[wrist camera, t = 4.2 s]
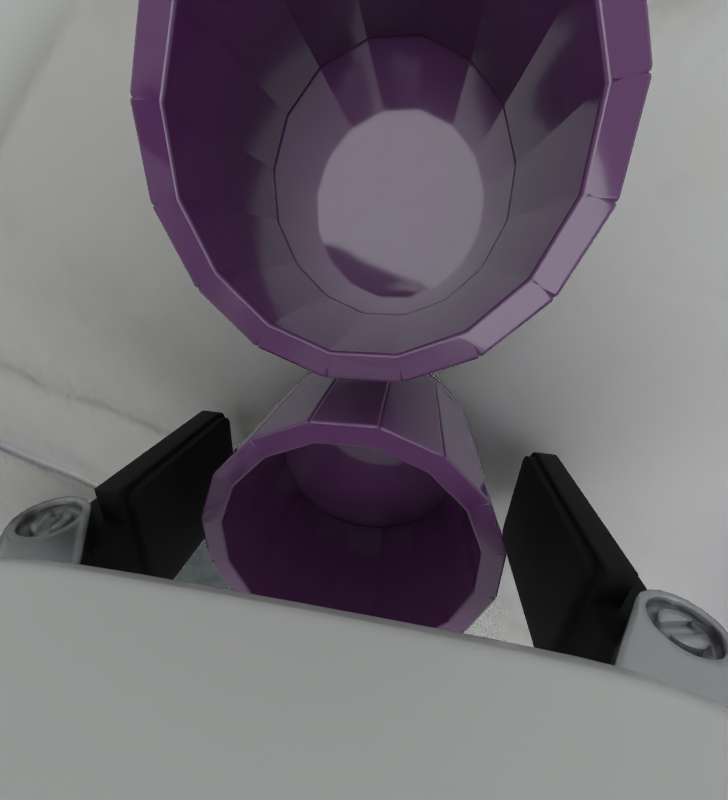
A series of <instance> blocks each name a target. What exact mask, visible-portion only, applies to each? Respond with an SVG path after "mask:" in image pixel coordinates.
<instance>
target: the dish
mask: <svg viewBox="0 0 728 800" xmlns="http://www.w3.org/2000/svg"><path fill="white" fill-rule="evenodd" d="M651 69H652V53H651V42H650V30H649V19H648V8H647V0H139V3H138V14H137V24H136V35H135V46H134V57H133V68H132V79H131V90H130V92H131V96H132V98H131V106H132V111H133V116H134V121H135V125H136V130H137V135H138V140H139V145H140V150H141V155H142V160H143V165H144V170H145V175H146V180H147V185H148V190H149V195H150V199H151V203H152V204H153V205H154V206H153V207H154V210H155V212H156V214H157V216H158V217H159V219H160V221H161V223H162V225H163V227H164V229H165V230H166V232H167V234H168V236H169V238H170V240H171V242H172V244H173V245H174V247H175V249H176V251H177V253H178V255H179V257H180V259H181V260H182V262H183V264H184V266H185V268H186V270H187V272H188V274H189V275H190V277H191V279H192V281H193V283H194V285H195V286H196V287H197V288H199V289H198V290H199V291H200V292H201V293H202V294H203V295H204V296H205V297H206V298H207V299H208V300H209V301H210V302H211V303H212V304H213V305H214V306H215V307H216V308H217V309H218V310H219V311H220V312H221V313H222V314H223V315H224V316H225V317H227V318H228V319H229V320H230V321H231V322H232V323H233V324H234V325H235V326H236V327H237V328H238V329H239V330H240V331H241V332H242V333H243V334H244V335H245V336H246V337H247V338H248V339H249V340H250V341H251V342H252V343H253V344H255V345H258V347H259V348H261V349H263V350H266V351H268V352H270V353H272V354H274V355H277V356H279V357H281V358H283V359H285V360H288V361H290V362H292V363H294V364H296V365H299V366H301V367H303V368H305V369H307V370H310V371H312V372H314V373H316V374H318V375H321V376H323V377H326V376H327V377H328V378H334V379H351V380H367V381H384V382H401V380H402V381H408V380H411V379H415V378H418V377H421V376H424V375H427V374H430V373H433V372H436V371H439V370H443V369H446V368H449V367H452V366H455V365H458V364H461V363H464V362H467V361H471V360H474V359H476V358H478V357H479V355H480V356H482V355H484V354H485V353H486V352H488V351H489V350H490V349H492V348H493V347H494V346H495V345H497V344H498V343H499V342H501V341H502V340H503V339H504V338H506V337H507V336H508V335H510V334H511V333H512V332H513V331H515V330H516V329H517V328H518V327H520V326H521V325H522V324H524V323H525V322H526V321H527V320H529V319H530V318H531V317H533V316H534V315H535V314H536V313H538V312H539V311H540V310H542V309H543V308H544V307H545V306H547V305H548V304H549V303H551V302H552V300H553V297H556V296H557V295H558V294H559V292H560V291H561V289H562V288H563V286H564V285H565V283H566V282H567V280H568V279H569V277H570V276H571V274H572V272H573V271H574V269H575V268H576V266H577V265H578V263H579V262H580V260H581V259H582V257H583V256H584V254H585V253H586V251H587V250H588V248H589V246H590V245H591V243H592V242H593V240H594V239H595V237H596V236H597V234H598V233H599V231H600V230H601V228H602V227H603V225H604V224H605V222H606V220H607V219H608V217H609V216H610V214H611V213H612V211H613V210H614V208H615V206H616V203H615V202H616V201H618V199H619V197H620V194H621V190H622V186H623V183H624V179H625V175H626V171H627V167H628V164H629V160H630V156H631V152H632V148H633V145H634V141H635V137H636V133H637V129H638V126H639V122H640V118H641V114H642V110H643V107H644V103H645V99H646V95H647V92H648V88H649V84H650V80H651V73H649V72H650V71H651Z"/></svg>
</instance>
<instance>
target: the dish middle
mask: <svg viewBox="0 0 728 800" xmlns="http://www.w3.org/2000/svg"><path fill="white" fill-rule="evenodd" d="M201 517H202V518H201V521H202V525H203V530H204V534H205V539H206V543H207V548H208V552H209V557H210V559H211V562H212V564H213V565H214V566H215V568H216V569H217V571H218V572H219V574H220V575H221V576H222V578H223V579H224V581H225V582H226V584H227V585H228V586H229V588H230V589H231V590H233V591H238V592H244V593H250V594H255V595H260V596H266V597H271V598H277V599H282V600H288V601H293V602H299V603H304V604H310V605H315V606H320V607H326V608H331V609H336V610H342V611H347V612H353V613H358V614H363V615H369V616H374V617H380V618H385V619H390V620H395V621H401V622H406V623H411V624H416V625H422V626H427V627H432V628H437V629H443V630H448V631H453V632H458V633H464V631H466V630H467V629H468V628H469V627H470V626H471V625H472V624H473V623H474V622H475V621H476V620H477V619H478V617H479V616H480V615H481V614H482V613H483V612H484V611H485V610H486V609H487V608H488V607H489V606H490V605H491V604H492V602H493V601H494V600H495V598H496V597H497V593H498V588H499V584H500V580H501V576H502V571H503V567H504V563H505V559H506V547H505V543H504V540H503V537H502V533H501V530H500V527H499V523H498V520H497V517H496V513H495V510H494V507H493V503H492V500H491V497H490V493H489V490H488V487H487V483H486V480H485V477H484V473H483V470H482V467H481V463H480V460H479V457H478V453H477V450H476V447H475V444H474V441H473V438H472V434H471V431H470V428H469V425H468V422H467V419H466V416H465V414H464V412H463V411H462V409H461V407H460V406H459V404H458V402H457V401H456V400H455V398H454V397H453V396H452V395H451V393H450V392H449V391H448V390H447V389H446V388H445V387H444V386H443V385H442V384H440V383H439V382H438V381H437V380H435V379H434V378H433V377H431V376H430V375H429V374H427V375H424V376H421V377H418V378H415V379H411V380H408V381H402V380H401V382H384V381H367V380H351V379H334V378H328V377H327V376H326V377H323V376H321V375H318V374H316V373H314V372H311V373H310V374H308V375H307V376H305V377H304V378H303V379H302V380H301V381H300V382H299V383H298V384H297V385H296V386H295V387H294V388H293V389H292V390H291V391H290V392H289V393H288V394H287V395H286V396H285V397H284V398H283V399H282V400H281V401H280V402H279V403H278V404H277V405H276V406H275V407H274V408H273V410H272V411H271V412H270V413H269V414H268V415H267V416H266V417H265V418H264V419H263V420H262V421H261V422H260V424H259V425H258V426H257V427H256V428H255V429H254V430H253V431H252V432H251V433H250V434H249V435H248V436H247V438H246V439H245V440H244V441H243V442H242V443H241V444H240V445H239V446H238V447H237V448H236V449H235V450H234V452H233V453H232V454H231V455H230V456H229V457H228V458H227V459H226V460H225V461H224V462H223V463H222V464H221V465H220V467H219V468H218V469H217V470H216V471H215V473H214V474H213V476H212V479H211V483H210V486H209V490H208V493H207V497H206V500H205V504H204V508H203V511H202V515H201Z"/></svg>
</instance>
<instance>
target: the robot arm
mask: <svg viewBox="0 0 728 800" xmlns="http://www.w3.org/2000/svg"><path fill="white" fill-rule="evenodd" d="M232 453H233V449H232V440H231V430H230V422H229V419H228V418H225V416H224V414H223V413H220V412H212V411H201V412H200V413H198V414H197V415H196V416H194V417H193V418H192V419H190V420H189V421H187V422H186V423H185V424H183V425H182V426H181V427H179V428H178V429H176V430H175V431H174V432H172V433H171V434H170V435H168V436H167V437H165V438H164V439H163V440H161V441H160V442H159V443H157V444H156V445H154V446H153V447H152V448H150V449H149V450H147V451H146V452H145V453H143V454H142V455H141V456H139V457H138V458H136V459H135V460H134V461H132V462H131V463H130V464H128V465H127V466H125V467H124V468H123V469H121V470H120V471H119V472H117V473H116V474H114V475H113V476H112V477H110V478H109V479H108V480H106V481H105V482H103V483H102V484H101V485H99V486H98V487H97V488H95V493H96V496H97V498H96V499H95V500H93V501H92V502H91V503H90V502H89V501H88V500H87V499H86V498H83V497H79V496H65V497H59V498H54V499H51V500H47V501H44V502H41V503H39V504H37V505H34V506H32V507H30V508H28V509H26V510H25V511H23V512H21V513H20V514H18V515H17V516H16V517H15V518H13V519H12V520H11V521H10V522H9V524H8V525H7V526H6V528H5V529H4V531H3V533H2V535H1V537H0V800H728V632H727V631H726V630H725V629H724V628H723V627H722V626H721V625H720V624H719V623H718V622H717V621H716V620H715V619H714V618H712V617H711V616H710V615H709V614H707V613H706V612H705V611H704V610H702V609H701V608H699V607H697V606H696V605H694V604H693V603H691V602H689V601H688V600H685V599H683V598H681V597H679V596H677V595H675V594H672V593H668V592H665V591H661V590H647V589H646V587H645V586H644V584H643V583H642V581H641V580H640V578H639V577H638V573H637V572H636V571H635V569H634V568H633V566H632V565H631V563H630V562H629V560H628V559H627V557H626V556H625V554H624V553H623V552H622V550H621V549H620V547H619V546H618V544H617V543H616V541H615V540H614V538H613V537H612V535H611V534H610V533H609V531H608V530H607V528H606V527H605V525H604V524H603V522H602V521H601V519H600V518H599V517H598V515H597V514H596V512H595V511H594V509H593V508H592V506H591V505H590V503H589V502H588V500H587V499H586V498H585V496H584V495H583V493H582V492H581V490H580V489H579V487H578V486H577V484H576V483H575V481H574V480H573V479H572V477H571V476H570V474H569V473H568V471H567V470H566V468H565V467H564V465H563V464H562V463H561V461H560V460H559V458H558V457H557V456H556V455H553V454H545V453H537V452H533V453H532V454H531V456H530V457H529V456H526V457H525V458H524V459H523V462H522V465H521V469H520V472H519V476H518V479H517V482H516V486H515V489H514V493H513V496H512V500H511V503H510V506H509V510H508V513H507V517H506V520H505V523H504V527H503V540H504V543H505V547H506V553H507V556H508V560H509V563H510V566H511V570H512V573H513V577H514V580H515V583H516V587H517V590H518V594H519V597H520V600H521V604H522V607H523V611H524V614H525V617H526V621H527V624H528V628H529V631H530V634H531V638H532V641H533V645H534V647H529V646H524V645H519V644H515V643H510V642H505V641H500V640H495V639H490V638H485V637H479V636H474V635H469V634H464V633H458V632H453V631H448V630H443V629H437V628H432V627H427V626H422V625H416V624H411V623H406V622H401V621H395V620H390V619H385V618H380V617H374V616H369V615H363V614H358V613H353V612H347V611H342V610H336V609H331V608H326V607H320V606H315V605H310V604H304V603H299V602H293V601H288V600H282V599H277V598H271V597H266V596H260V595H255V594H250V593H244V592H238V591H233V590H227V589H222V588H216V587H210V586H205V585H199V584H194V583H188V582H182V581H177V580H173V579H174V578H175V577H176V575H177V574H178V573H179V571H180V570H181V569H182V567H183V566H184V565H185V563H186V562H187V561H188V559H189V558H190V557H191V555H192V554H193V553H194V551H195V550H196V549H197V547H198V546H199V545H200V543H201V542H202V541H203V539H204V538H205V534H204V530H203V525H202V521H201V518H202V517H201V515H202V511H203V508H204V504H205V500H206V497H207V493H208V490H209V486H210V483H211V479H212V476H213V474H214V473H215V471H216V470H217V469H218V468H219V467H220V465H221V464H222V463H223V462H224V461H225V460H226V459H227V458H228V457H229V456H230V455H231V454H232Z"/></svg>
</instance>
